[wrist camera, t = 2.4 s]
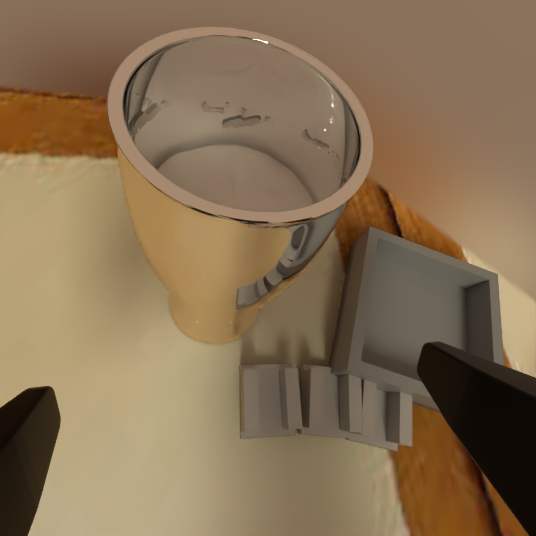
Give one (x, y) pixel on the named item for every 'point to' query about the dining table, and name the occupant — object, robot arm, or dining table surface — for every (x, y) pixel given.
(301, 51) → the beer glass
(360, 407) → the clip
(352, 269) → the holder
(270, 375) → the clip
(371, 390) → the clip
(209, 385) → the dining table surface
